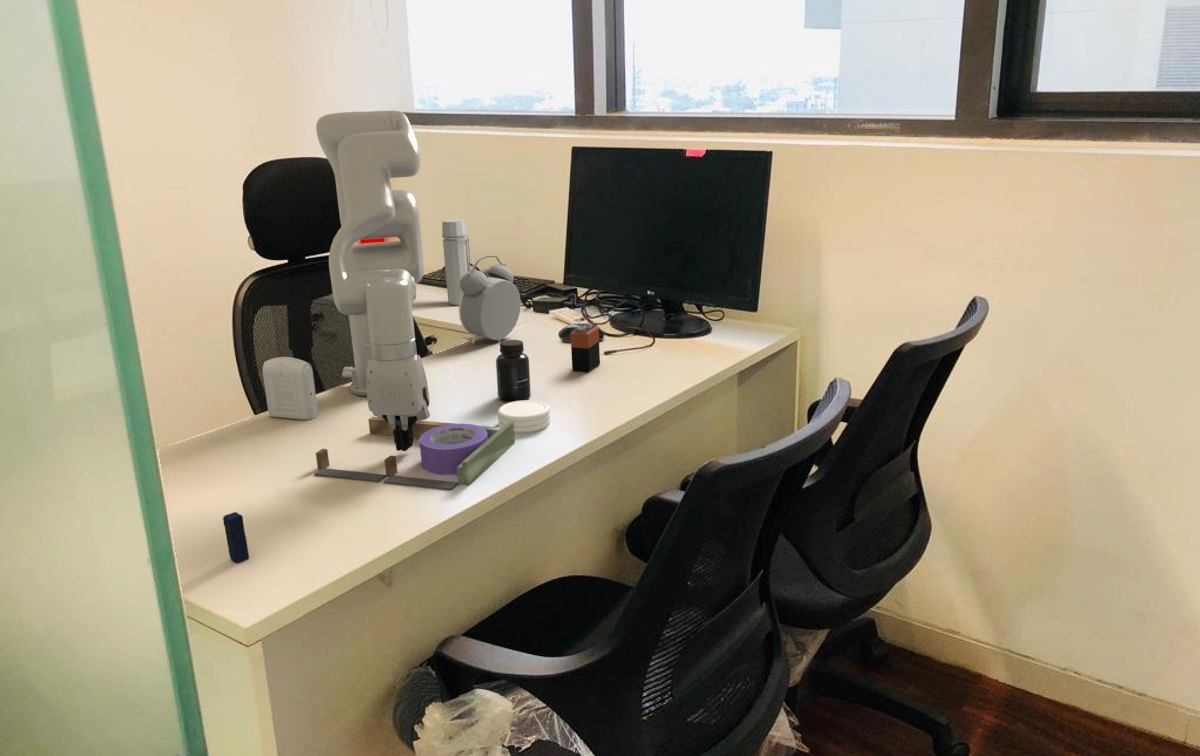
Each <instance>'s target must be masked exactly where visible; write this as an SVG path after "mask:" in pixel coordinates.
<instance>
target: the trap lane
mask: <svg viewBox="0 0 1200 756" xmlns="http://www.w3.org/2000/svg"><path fill="white" fill-rule="evenodd" d="M367 420H368V428H369V434H370V435H376V436H377V435H378V436H390V437H394V434H393V430H392V429H391V428H390V426H389V424H388V423H387V422H386V421H385V420H384V419H383V418H380V417H377V416H371V417H370V418H368V419H367ZM449 424H456V423H452V422H443V421H442V422H439V421H428V420H421V421H416V423H415V424H414V425H413V426H412V429H413V438H414V439H419V438H420V436H421V435H422V434H423V433H425V432H426V431H428V430H430V429H433V428H436V427H439V426H443V425H449ZM477 425H478V424H477ZM478 426H481V427H483V428H484V429H486V431H487V435H488V440H487V441H486V442H485V443H483V444H482V445H481V446H480V447H479V448H478V449H476V450H475V451H474V452H473V453H472V454H471V455H470V456H468V457H467V458H466V459H465V460H464V461H463V462H462V463H461V464H460V465H459V466H458V467H457V474H456V475H457V482H458V485H464V486H470V485H472V484H473V482H474V481H476V480H477V479H478V478H479V477H480V476H481V475H482V474H483V473H484V472H485V471H486V470H487V469H488V468H490V467H491V466H492V465H493V464H494V463H495V462H496V461H497V460H498V459H499V458H500V457H501V456H503V455H504V454H505V453H506V452H507V451H508V450H509V449H510V448H511V447H512V446H513V445H515V443H516V442H515V441H516V440H515V433H514V424H513V422H508V423H506V424H505V425H504V426H503V427H499V426H488V425H487V426H486V425H478ZM315 458H316V465H317V470H320V469H322V468H328V467H329V466H330V459H329V452H328V448H321V449H320V450H318V451H317V452H315ZM397 464H398V462H397V456H396V455H389V456H388V457H386V458H384V468H385V475H386V477H387V478H388V477H390V476H391V475H394V476H396V474H397V473H398V465H397Z"/></svg>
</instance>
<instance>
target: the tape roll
mask: <svg viewBox="0 0 1200 756" xmlns="http://www.w3.org/2000/svg"><path fill="white" fill-rule="evenodd" d="M481 426H482V425H479V426H478V424H473V423H455V424H449V425H443V426H439V427H436V428H433V429H430V430H428V431H426V432H425V433H423V434H422V435H421V436H420V438H418V442H419V449H420V450H419V451H420V458H421V466H422V468H423V469H424V470H425V471H426V472H429V473H431V474H435V475H441V476H443V475H445V476H447V475H449V476H452V475H458V474H457V467H458V466H459V465H460V464H461V463H462V462H463V461H464V460H465V459H466V458H467V457H468V456H470V455H471V454H472V453H473V452H474V451H475V450H476V449H478V448H479V447H480V446H481V445H482V444H483V443H485V442H486V441H487V440H488V435H487V431H486V429H484V428H483V427H481Z"/></svg>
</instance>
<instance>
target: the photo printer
mask: <svg viewBox="0 0 1200 756" xmlns="http://www.w3.org/2000/svg"><path fill="white" fill-rule="evenodd" d="M262 376H263V377H262V378H263V384H264V391H265V397H266V406H267V412H268V415H269V416H270V417H275V418H285V419H295V420H306V421H307V420H309V421H310V420H313V419H315V418H316V417H317V415H318V414H319V413H318V405H317V395H316V388H315V387H316V386H315V379H314V372H313V367H312V365H311V364H310V363H309V362H307V361H305V360H302V359H299V358H295V357H291V356H279V357H278V356H277V357H273V358H270V359H268V360H266V361H264V363H263V365H262Z"/></svg>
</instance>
